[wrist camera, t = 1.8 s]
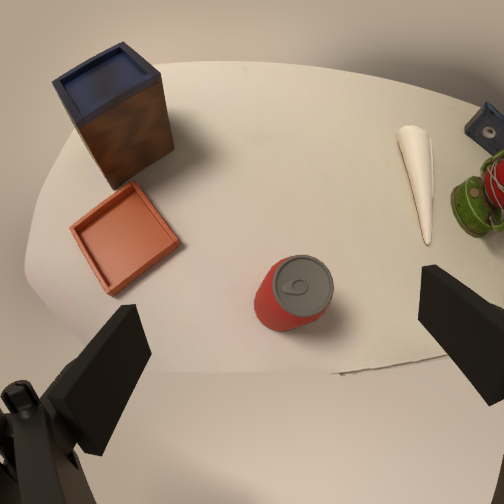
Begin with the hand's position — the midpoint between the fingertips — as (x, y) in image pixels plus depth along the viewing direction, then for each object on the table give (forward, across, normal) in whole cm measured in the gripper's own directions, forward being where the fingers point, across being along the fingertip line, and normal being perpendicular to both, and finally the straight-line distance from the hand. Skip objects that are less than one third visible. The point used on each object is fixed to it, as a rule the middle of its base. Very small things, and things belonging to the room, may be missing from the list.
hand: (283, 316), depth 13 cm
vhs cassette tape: (+47, +55, +6) cm, 72 cm away
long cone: (+36, +24, 0) cm, 43 cm away
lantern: (+35, +38, -5) cm, 52 cm away
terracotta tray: (+26, -19, 0) cm, 32 cm away
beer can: (+23, 0, -11) cm, 25 cm away
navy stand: (+34, -20, +12) cm, 41 cm away
